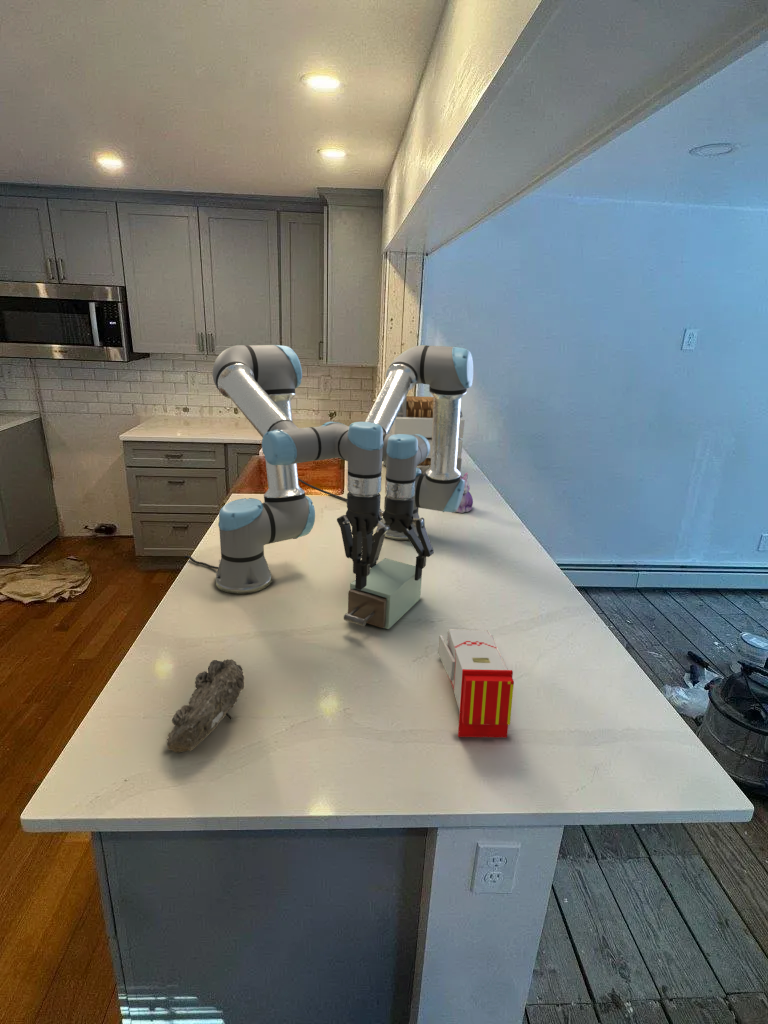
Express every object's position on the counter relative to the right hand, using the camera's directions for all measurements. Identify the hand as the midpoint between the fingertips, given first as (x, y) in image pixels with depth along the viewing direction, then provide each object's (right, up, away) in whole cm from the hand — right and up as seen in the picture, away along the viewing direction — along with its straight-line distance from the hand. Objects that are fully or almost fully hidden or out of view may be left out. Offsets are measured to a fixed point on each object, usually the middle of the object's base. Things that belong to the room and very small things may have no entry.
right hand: (394, 572), depth 151 cm
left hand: (-8, -2, -16) cm, 18 cm away
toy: (+15, -22, -32) cm, 42 cm away
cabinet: (-2, -9, 0) cm, 10 cm away
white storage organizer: (+14, +35, +124) cm, 130 cm away
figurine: (+28, +17, +77) cm, 83 cm away
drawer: (-5, -10, -5) cm, 12 cm away
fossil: (-36, -23, -43) cm, 60 cm away
